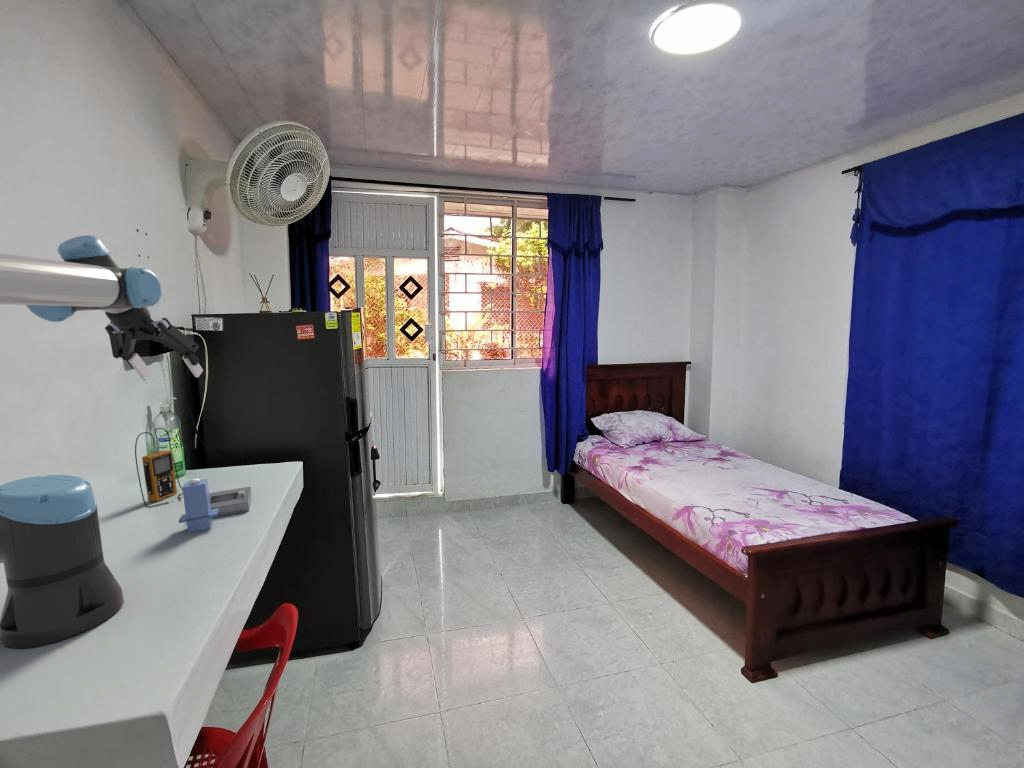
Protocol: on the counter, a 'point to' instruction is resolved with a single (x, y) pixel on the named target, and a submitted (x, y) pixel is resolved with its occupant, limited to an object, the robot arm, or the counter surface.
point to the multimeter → (159, 474)
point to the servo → (197, 505)
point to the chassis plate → (231, 501)
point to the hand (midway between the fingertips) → (173, 375)
